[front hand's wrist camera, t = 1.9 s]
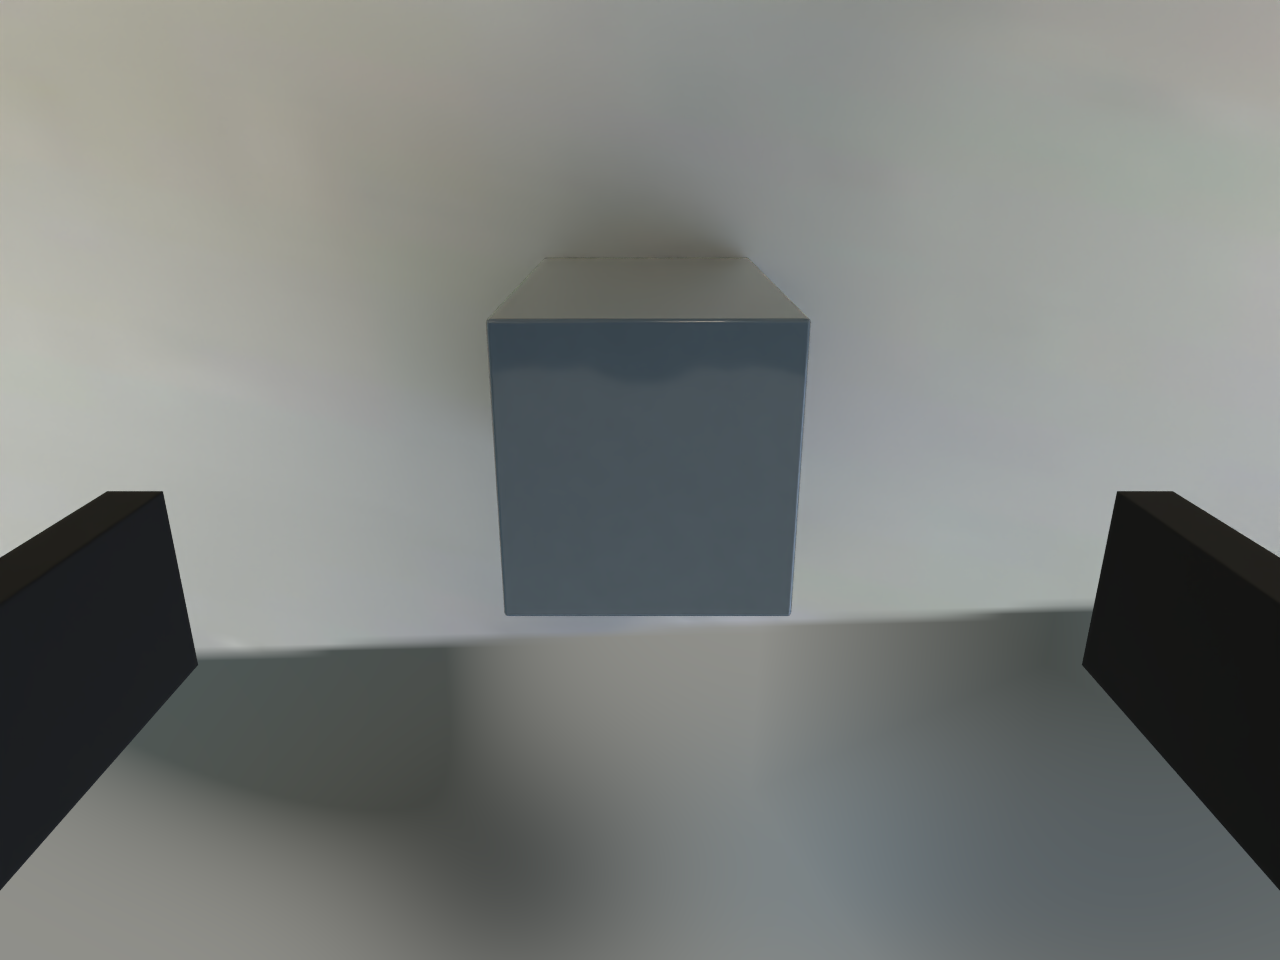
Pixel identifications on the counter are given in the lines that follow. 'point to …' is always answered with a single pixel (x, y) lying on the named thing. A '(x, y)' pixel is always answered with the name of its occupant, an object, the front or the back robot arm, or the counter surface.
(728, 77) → the counter surface
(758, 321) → the brick
